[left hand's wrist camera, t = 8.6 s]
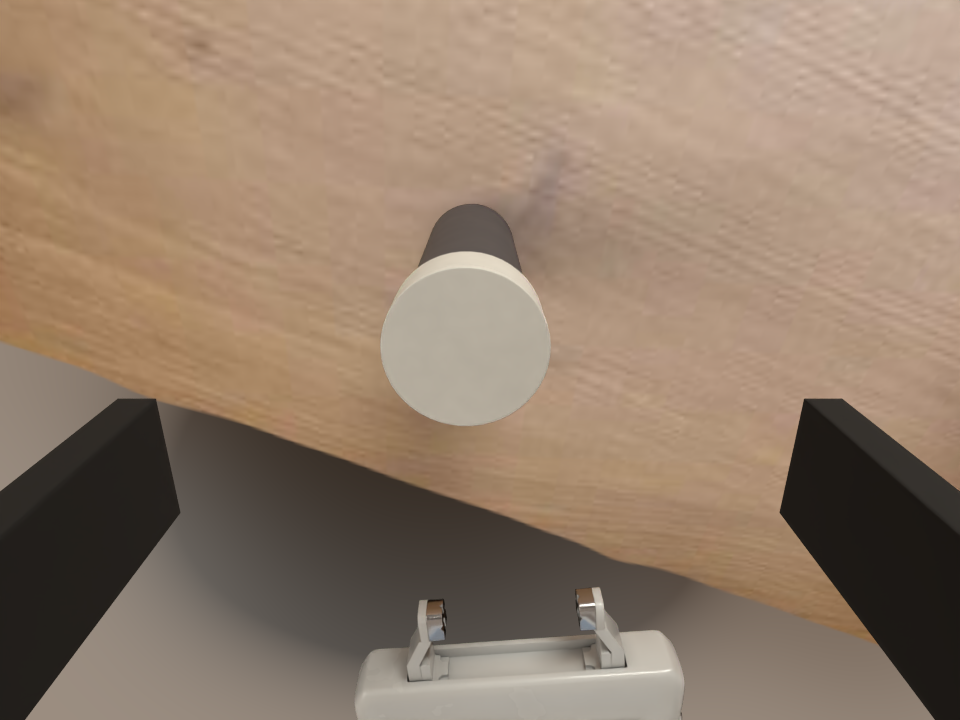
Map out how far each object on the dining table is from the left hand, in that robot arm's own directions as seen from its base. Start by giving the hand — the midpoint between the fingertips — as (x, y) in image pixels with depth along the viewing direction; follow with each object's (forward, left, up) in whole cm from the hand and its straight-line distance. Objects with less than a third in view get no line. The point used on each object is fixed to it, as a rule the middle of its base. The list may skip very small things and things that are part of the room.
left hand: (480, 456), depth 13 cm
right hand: (+12, -16, -17) cm, 27 cm away
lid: (0, -1, -8) cm, 8 cm away
